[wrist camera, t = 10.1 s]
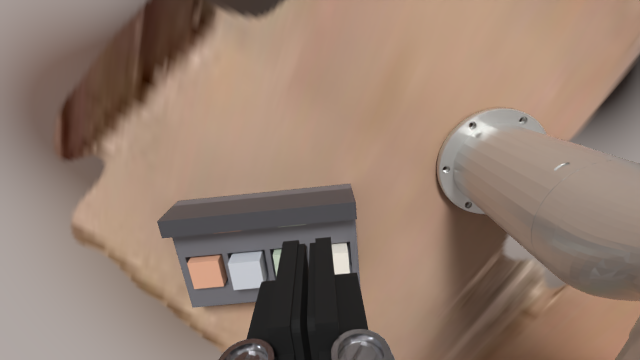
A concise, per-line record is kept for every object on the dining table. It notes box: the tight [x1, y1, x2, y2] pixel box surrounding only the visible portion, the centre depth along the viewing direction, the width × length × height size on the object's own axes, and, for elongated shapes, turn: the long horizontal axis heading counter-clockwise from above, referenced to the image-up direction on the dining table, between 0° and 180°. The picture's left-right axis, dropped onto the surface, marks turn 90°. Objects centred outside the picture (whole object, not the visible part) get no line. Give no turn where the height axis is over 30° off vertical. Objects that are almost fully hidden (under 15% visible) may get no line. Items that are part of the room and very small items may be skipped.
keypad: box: [157, 184, 360, 307], centre depth 39 cm, size 21×13×6 cm, turn 96°
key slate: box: [228, 250, 267, 290], centre depth 39 cm, size 4×4×2 cm
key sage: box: [273, 248, 282, 276], centre depth 39 cm, size 4×4×2 cm
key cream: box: [331, 242, 350, 274], centre depth 38 cm, size 4×4×2 cm
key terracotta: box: [187, 254, 228, 289], centre depth 39 cm, size 4×4×2 cm
